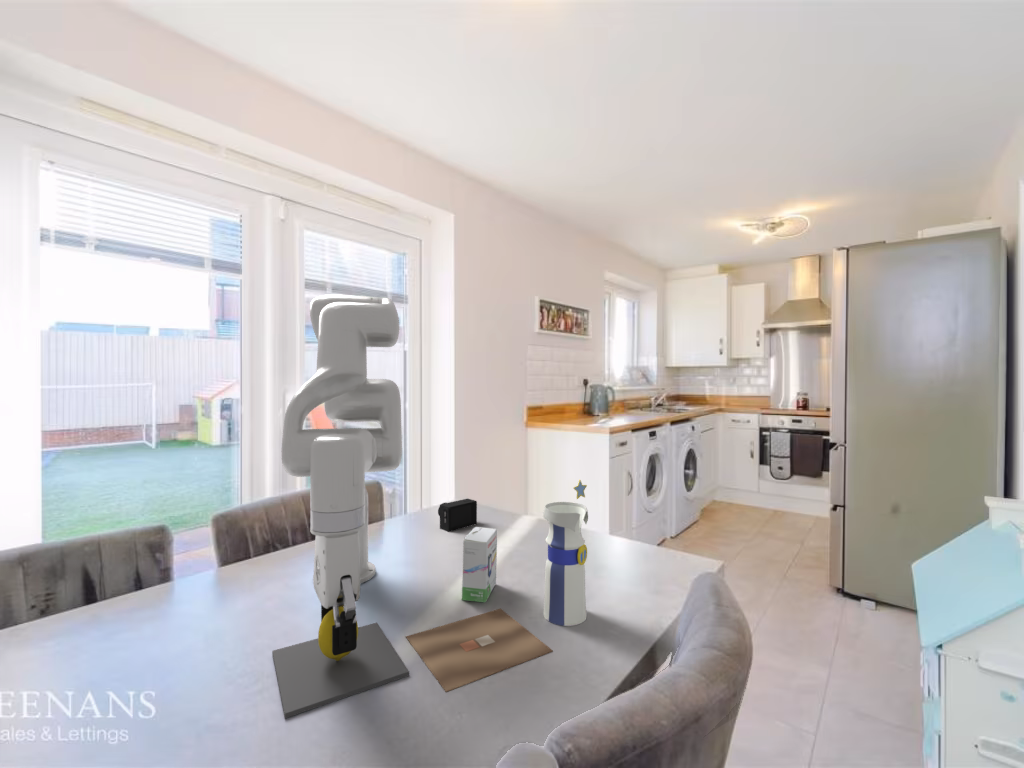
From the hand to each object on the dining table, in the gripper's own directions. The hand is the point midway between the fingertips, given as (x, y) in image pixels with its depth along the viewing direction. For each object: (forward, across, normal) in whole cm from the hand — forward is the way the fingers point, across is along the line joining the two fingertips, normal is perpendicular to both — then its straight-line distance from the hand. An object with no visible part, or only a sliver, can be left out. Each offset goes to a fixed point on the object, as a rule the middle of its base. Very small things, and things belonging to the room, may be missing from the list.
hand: (338, 637), depth 69 cm
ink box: (+4, -10, +29) cm, 31 cm away
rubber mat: (+4, 0, 0) cm, 4 cm away
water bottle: (+4, +6, +38) cm, 39 cm away
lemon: (+4, 0, 0) cm, 4 cm away
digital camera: (+4, -52, +44) cm, 68 cm away
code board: (+4, +6, +20) cm, 21 cm away
